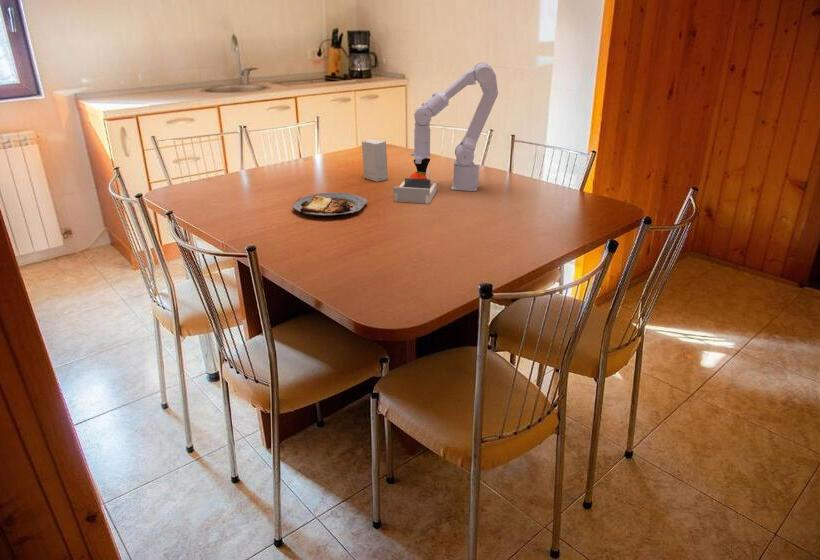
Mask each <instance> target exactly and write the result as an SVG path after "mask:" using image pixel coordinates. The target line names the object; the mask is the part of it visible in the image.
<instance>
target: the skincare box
mask: <svg viewBox="0 0 820 560" xmlns="http://www.w3.org/2000/svg"><path fill="white" fill-rule="evenodd" d="M361 148H362V162H363V178H364V179H365V178H367V179H366V180H369V179H370V181H374V182H383V181H388V179H389V175H388V171H389V170H388V157H387V154H388V153H387V141H386V140H381V139H375V138H370V139H366V140H362V141H361Z"/></svg>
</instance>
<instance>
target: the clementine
mask: <svg viewBox="0 0 820 560" xmlns="http://www.w3.org/2000/svg"><path fill="white" fill-rule="evenodd" d="M425 174H426V175H425ZM427 176H428V177H429V178H430V177H431V176H430V175H429V174H428V173H427V172H426V173H424V172H419V171H418V172H417V171H414V172H413V173H411V174H410V176H409V178H415V179H428V177H427Z"/></svg>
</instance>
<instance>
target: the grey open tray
mask: <svg viewBox="0 0 820 560" xmlns="http://www.w3.org/2000/svg"><path fill="white" fill-rule="evenodd" d="M437 191H438V183H437V182H433V183H432V184H431V185H430V189H427V188H411V187H405V180H403V181H402V182H401V184H400V185H399V186H394V187H393V202H394V203H395V202H396V203H397V202H398V203H412V204H414V203H415V204H424V203H425V204H426V205H427V204H428V205H429V204H430V203H431V201H432V200H433V198H434V196H435V194H436V193H437Z"/></svg>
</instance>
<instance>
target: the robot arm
mask: <svg viewBox="0 0 820 560" xmlns="http://www.w3.org/2000/svg"><path fill="white" fill-rule="evenodd" d="M476 81H477V83H478V84H479V86H480V89H481V92H482V95H481V98H480V100H479V103H478V104H477V107H476V110H475V112H474V114H473V117H472V119H471V121H470V124H468V125H469V126H468V127H467V130H466V132H465V135H464V137H462V140H461V141H460V143H459V144H458V145H457V146H456V147H455V149H454V155H455V158H456V159H455V161H454V162H453V177H452V178H453V179H452V180H453V182H452V186H451V187H450V190H452V191H468V192H476V191H477V190H478V188H479V185H480V180H479V179H480V165H478V164H474V163H475V162H474V157H475V155H474V154H475V150H476V147H477V144H478V140H479V138H480V136H481V134H482V132H483V129H484V127H485V125H486V122H487V120H488V118H489V115H490V113H491V111H492V109H493V107H494V104H495V102H496V100H497V97H498V95H499V90H498V84H497V83H498V81H497V74H496V73H495V71H494V69H493V68H492V66H491V65H489V64H488V63H486V62H478V63H477V64H475V66H474V67H471V68H470V69H468V70H467V71H465V72H464V73H463V74H462V75H461V76H459V77H458V78H457V79H456V80H455V81H454V82H453V83H452V84H451V85H450V86H449V87H448V88H446V89H445V90H444V91H437V92H433V93H432V94H431V97H430V98H429V99H427V101H426V102H425V103H424V102H422V103H421V106H419V107H418V108H416V109H415V111H414V114H413V116H414V128H413V129H414V132H413V133H414V136H413V140H414V141H413V143H414V146H413V147H414V149H413V150H414V151H413V152H411V153H410V156H411V157H414V159H413V164H414V165H415V168H416V172H418V171H419V172H424V173H426V174H425V175H426V176H427V171H428V166H429V164H430V161H431V158H430V157H431V127H430V126H431V125H430V124H431V121H432V118H433V117H435V116H437V115H438V114H439V113H441V112H442V111H443V110H444V109H446V107H448V106H449V103H450V99H452V98H453V97H455V95H457V94H458V93H460V92H461V91H462V90H463V89H464V88H466V87H467V86H472V85H473V86H474V85H477V83H476Z"/></svg>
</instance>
